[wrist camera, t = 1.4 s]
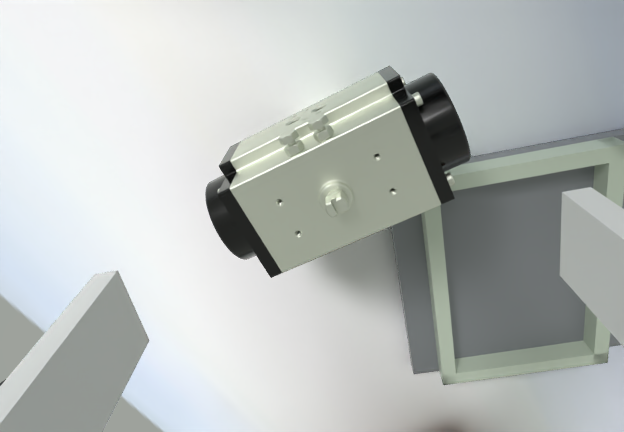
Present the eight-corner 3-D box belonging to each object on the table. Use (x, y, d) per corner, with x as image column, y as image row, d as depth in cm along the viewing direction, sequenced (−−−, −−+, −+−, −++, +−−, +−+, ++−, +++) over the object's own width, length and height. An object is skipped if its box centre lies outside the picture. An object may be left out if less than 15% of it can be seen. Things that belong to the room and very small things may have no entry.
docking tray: (383, 173, 30) (388, 187, 28) (637, 125, 28) (664, 136, 26) (411, 365, 37) (417, 388, 35) (615, 335, 35) (635, 358, 33)
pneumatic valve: (430, 121, 28) (498, 195, 18) (268, 197, 31) (240, 304, 20) (396, 36, 26) (450, 62, 15) (225, 125, 29) (168, 202, 18)
